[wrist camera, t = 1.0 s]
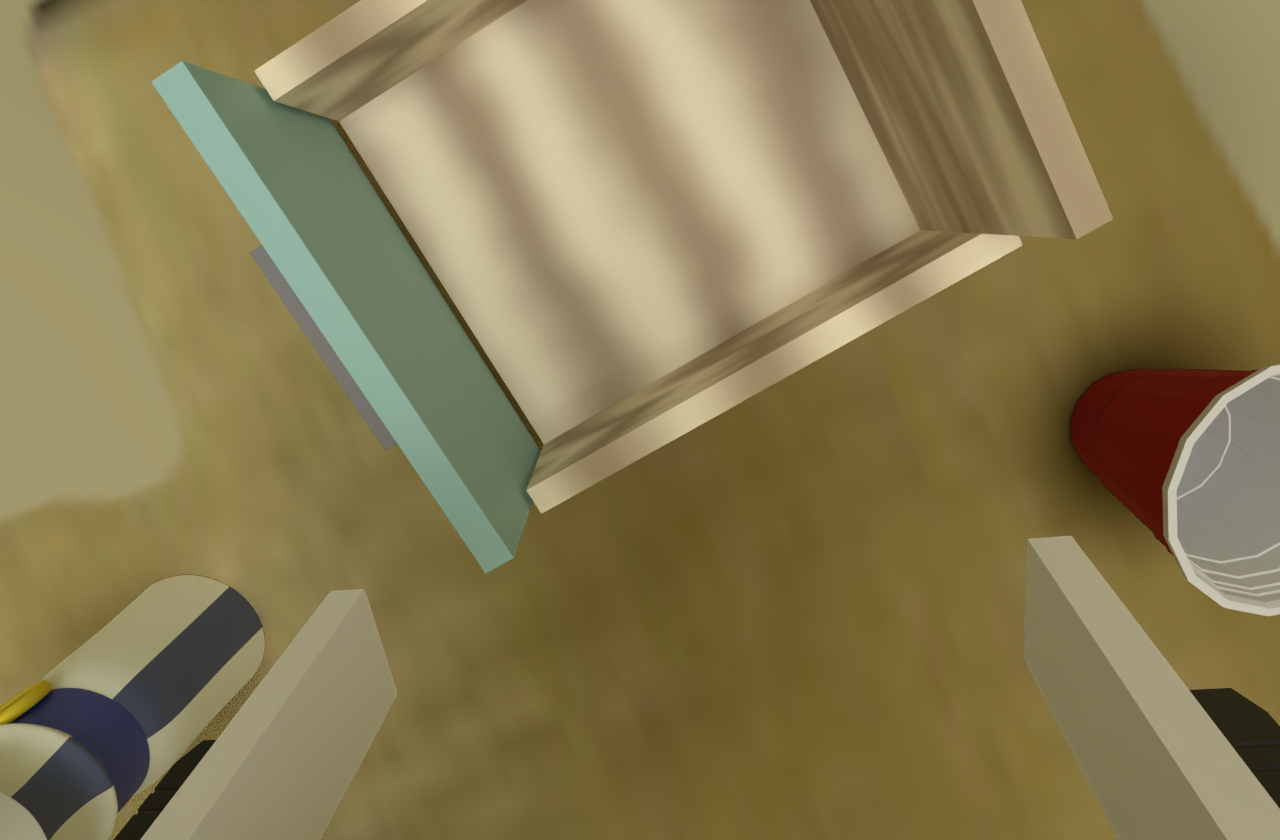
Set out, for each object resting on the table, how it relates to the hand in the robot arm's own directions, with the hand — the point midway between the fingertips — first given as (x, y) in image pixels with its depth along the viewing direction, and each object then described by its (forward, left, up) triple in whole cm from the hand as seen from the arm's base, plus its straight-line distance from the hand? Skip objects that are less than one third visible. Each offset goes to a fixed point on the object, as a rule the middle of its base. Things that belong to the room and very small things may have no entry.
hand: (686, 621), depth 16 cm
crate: (+5, +9, -28) cm, 29 cm away
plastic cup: (+21, -15, -28) cm, 38 cm away
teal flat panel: (-8, +9, -25) cm, 27 cm away
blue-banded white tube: (-30, 0, -28) cm, 41 cm away
